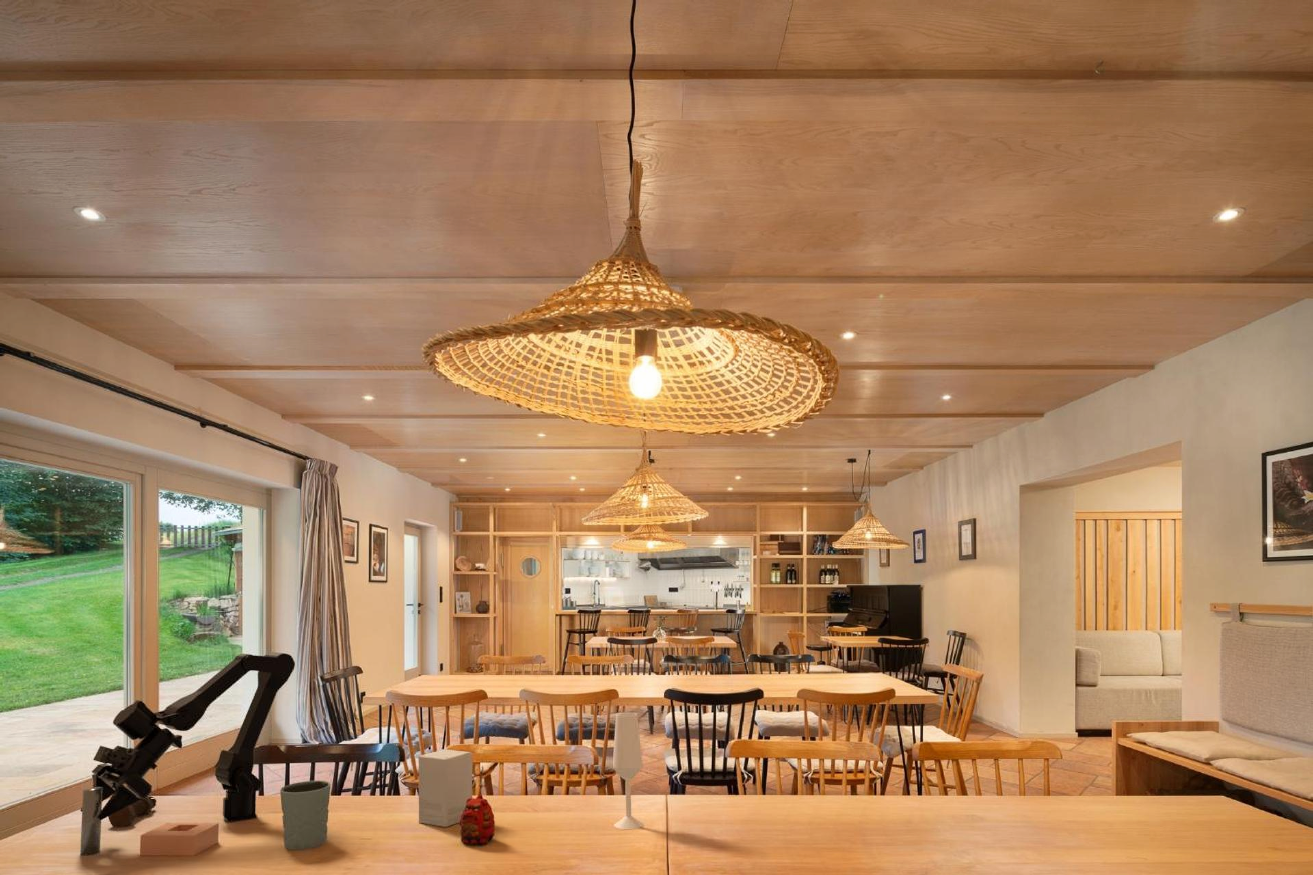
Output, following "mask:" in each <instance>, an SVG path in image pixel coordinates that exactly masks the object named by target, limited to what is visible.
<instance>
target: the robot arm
mask: <svg viewBox="0 0 1313 875" xmlns="http://www.w3.org/2000/svg"><path fill="white" fill-rule="evenodd" d="M295 666H296V661H294V658H293V656H292V655H291V654H289V653H285V652H284V653H283V652H276V651H275V652H274V651H273V652H268V653H266V654H265V655H256V654H255V655H253V654H250V653H239V654H238V655H236V656H235V657H234V659H232V661H230V662H229V663H228V664H227V665H226V666H224V667H223V668H221V669H220V670H219V671H218V672H217V673H216V674H215V675H213V676H212V677H211V678H210V679H208V680H207V681H206V682H205V683H204V684H203V685H201V686H200V687H199V688H198V689H197V690H195V691H194V692H191V693H190V694H188V695H185V696H183V697H180V698H179V699H177V700H176V701H174V702H172V703H171V704H169V705H168V706H166V708H164V710H160V711H156V712H153V711H152V709H150V708H149V707H148V706H147V705H146V704H145V703H144V702H143V701H142V700H138V699H137V700H135V702H133V703H132V704H129V705H128V706H127V707H125V708H123V709H121V710H120V711H119V712H118V713H117V715H116V716H115V717H114V719H113V720H112V723H113V725H114V726H115V727H116V728H118V729H119V730H120V731H121V732H123V734H124V735H126V736H127V737H128V738H129V739H130V740H132V741H134V740H137V739H139V740H140V741H139V742H138V743H137V744H136V746H134V747H129V748H127V747H124V746H122V745H121V746H120V745H116V746H115V747H113V748H110V747H107V746H103V745H99V747H98V749H97V751H96V754H95V756H94V757H93V758H92V759H93V761H95V762H99V763H100V764H97V765H96V766H95V767H94V768H93V769H92V770H91V773H92V775H91V778H92V781H93V782H92V784H93V785H92V787H102V788H103V791H102V802H103V801H105V800H107V799H108V798H109V799H108V801H107V802H106V803H105V805H104V806H102V810H101V812H100V813H99V815H98V816H97V818H98V819H99V820H101V821H102V820H104V819H106V818H108V816H110V815H112V814H114V813H115V812H117V811H119V810H121V809H123V808H125V807H127V806H129V805H131V804H133V803H135V802H137V801H138V802H139V801H140V799H139V798H138V797H140V798H142V799H146V798H147V797H148V796H150V794H152V788H153V786H152V785H151V784H150V783H149V782H148V781H146V779H145V778H144V777H145V775H146V774H147V773H148V772H149V771H150V770H153V771H154V770H155V769H157V767H158V765H157V764H156V763H157V762H158V761H159V760H160V759H161V758H162V757H163V755H164V754H165V753H166V752H167V751H168V750H169V749H170V748H171V746H172V747H174V748H178V749H182V748H183V741H182V740H183V735H181V734H175V733H173V732H172V731H171V730H175V731H179V732H187V731H189V730H191V729H192V728H194V727H195V726H196V725H197V723H198V722H199V721H200V720H201V719H202V718H203V716H205V713H206V711H207V710H208V707H210V706H211V704H212V703H214V702H215V701H216V700H218V698H220V697H221V695H223V694H224V693H225V692H227V690H229V689H230V688H231V687H232V686H234V685H235V684H236V683H237V682H238V681H239V680H240V679H242V678H243V677H244V676H245V675H246V674H248V673H249V672H250V671H252V672H257V688H256V690H255V692H254V694H253V698H252V700H251V702H250V705H249V707H248V710H247V712H246V714H245V716H244V719H243V721H242V724H241V726H240V728H239V732H238V734H237V736H236V738H235V740H234V744H232V746H231V747H230V748H229V749H228V750H226V749H222V750H221V751H220V753H219V756H218V757H219V758H218V761H217V762H216V763H215V765H213V766H214V768H215V770H214V771H215V772H214V776H215V779H216V780H217V781H218V783H220V784H221V787H222V790H224V791H225V797H223V799H222V817H223V818H224V819H225V820H226V822H234V821H235V822H236V821H240V820H241V821H242V820H249V819H254V818H258V814H257V812H256V810H257V809H256V805H257V802H256V800H257V797H256V796H257V792H258V791H260V788H261V785H262V780H260V779H259V778H258V777H257V776H256V775H254V774H253V769H254V764H255V748H256V746H257V743H258V741H259V739H260V735H261V733H262V731H263V728H264V725H265V723H266V720H267V718H268V715H269V713H270V711H271V708H272V705H273V703H274V701H275V698H276V696H277V693H278V691H279V690H280V689H281V688H282V687H283V686H284V685H285V684H286V683H287V682H288V680H289V678H290V677H291V675H292V673H293V672H294V670H295V668H296V667H295ZM158 725H162V726H165V727H166V728H161V727H160V726H158ZM79 810H80V812H81V813H82V807H81V808H80V809H79Z"/></svg>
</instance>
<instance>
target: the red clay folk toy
mask: <svg viewBox="0 0 1313 875" xmlns="http://www.w3.org/2000/svg"><path fill="white" fill-rule="evenodd" d="M481 767H482V768H481V770H480V771H479V773H477V772H473V778H476V777H479V786H478V787H479V791H478V794H477V796H476V797H474V798H473V797H472V798H469V799H467V802H466V807H465V809H464V810H463V813H462V815H461V819H460V822H459V825H460V830H459V831H460V841H461V843H463V844H471V845H473V846H481V845H482V846H484V845H487V843H489V842H491V841H492V839H493V838H494V836H495V826H496V825H495V824H496V822H495V814H494V813H493V808H492V806H491V805H490V803H489V802H488V799H486V798H484V797H483V794H482V788H483V787H484V786H483V785H484V784H483V783H482V782H483V776H484V775H483V774H484V766H483V765H482V766H481Z"/></svg>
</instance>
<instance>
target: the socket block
mask: <svg viewBox="0 0 1313 875" xmlns="http://www.w3.org/2000/svg"><path fill="white" fill-rule="evenodd" d="M219 824H220V823H218V822H216V823H215V822H211V823H209V822H208V823H207V822H165V823H164V824H162V825H160V826H157V827H156V828H154V829H151V830H149V831H147V832H145V833H142V834H140V839H139V840H140V844H139V845H140V846H139V856H178V857H180V856H182V857H183V856H196V855H198V854H201V853H202V852H203V851H205V850H208V849H209V848H210V847H213V846H214V845H216V844H218V843H219V833H220V832H219V826H220V825H219Z"/></svg>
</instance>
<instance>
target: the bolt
mask: <svg viewBox="0 0 1313 875" xmlns="http://www.w3.org/2000/svg"><path fill="white" fill-rule="evenodd" d="M138 798H139V799H140V801H139V802H138V801H137V802H135V803H133V804H131V805H129V806H127V807H125V808H123V809H121V810H119V811H117V812H115V813H114V814H112V815H110V816H108V817H107V818H108V821H109V823H110V824H111V826H112V828H126V827H129V826H131V824H132V823H133V821H134V819H135V818H136V817H143V816H144V817H145V816H147V814H148V815H149V814H150V813H151V811H152V810H153V809H154V808H155V807H156V806H157V799H156V798H154V797H153V796H150V795H148V797H147V798H146V799H142V798H140V797H138ZM151 798H154V799H151Z"/></svg>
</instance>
